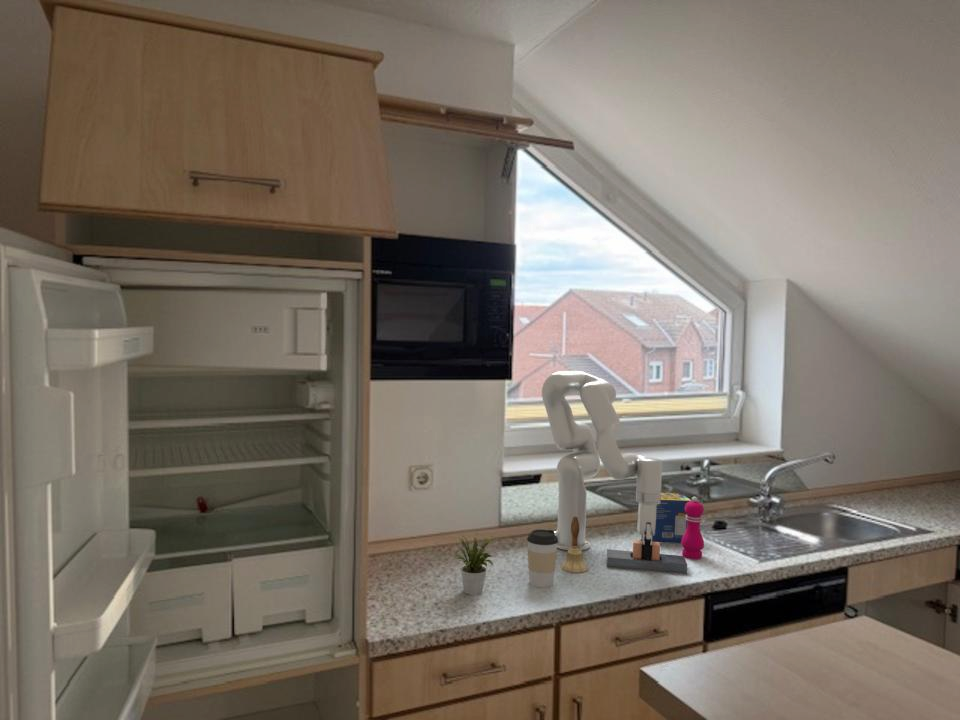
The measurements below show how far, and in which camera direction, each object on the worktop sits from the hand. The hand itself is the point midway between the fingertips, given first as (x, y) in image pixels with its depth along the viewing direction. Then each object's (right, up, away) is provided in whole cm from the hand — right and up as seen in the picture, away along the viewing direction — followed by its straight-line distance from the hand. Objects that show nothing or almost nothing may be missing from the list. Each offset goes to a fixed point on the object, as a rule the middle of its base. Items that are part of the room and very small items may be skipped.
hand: (646, 554), depth 206 cm
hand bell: (-23, -3, -4) cm, 24 cm away
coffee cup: (-35, -3, -17) cm, 39 cm away
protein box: (+14, -4, +30) cm, 33 cm away
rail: (0, -4, 0) cm, 4 cm away
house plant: (-56, -3, -25) cm, 61 cm away
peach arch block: (0, -4, 0) cm, 4 cm away
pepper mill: (+18, -4, +11) cm, 22 cm away
